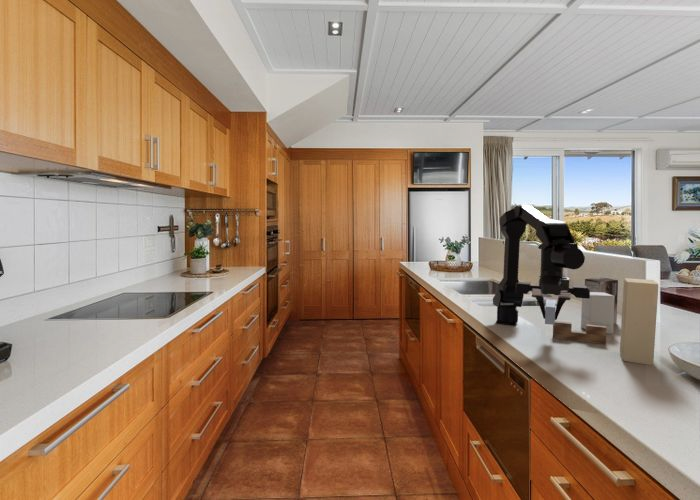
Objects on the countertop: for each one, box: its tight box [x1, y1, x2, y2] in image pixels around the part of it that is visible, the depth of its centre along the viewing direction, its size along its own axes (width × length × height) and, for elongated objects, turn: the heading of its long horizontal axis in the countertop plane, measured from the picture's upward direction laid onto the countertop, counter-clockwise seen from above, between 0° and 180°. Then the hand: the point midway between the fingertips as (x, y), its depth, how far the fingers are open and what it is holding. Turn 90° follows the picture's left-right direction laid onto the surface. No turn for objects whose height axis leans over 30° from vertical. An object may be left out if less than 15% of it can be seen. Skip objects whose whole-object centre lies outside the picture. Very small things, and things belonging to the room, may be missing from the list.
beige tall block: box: [619, 277, 659, 366], centre depth 100 cm, size 8×7×21 cm
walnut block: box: [552, 320, 607, 345], centre depth 117 cm, size 14×2×5 cm, turn 61°
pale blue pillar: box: [544, 299, 556, 326], centre depth 113 cm, size 2×12×5 cm, turn 152°
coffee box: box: [584, 277, 619, 324], centre depth 138 cm, size 9×6×16 cm
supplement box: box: [580, 292, 615, 335], centre depth 128 cm, size 7×7×13 cm
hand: (549, 319), depth 110 cm, fingers closed on pale blue pillar, 2 cm apart
